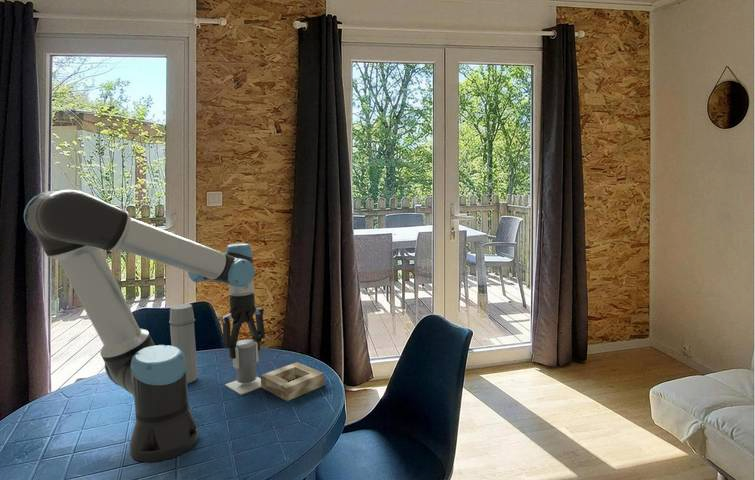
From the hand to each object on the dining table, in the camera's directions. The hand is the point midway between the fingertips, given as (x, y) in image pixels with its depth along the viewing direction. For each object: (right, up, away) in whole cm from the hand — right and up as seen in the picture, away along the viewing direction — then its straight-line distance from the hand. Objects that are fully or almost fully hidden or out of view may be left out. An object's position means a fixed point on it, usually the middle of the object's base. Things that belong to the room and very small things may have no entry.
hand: (245, 364), depth 141 cm
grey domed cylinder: (0, -5, +1) cm, 5 cm away
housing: (+15, -7, -1) cm, 17 cm away
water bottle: (-21, -7, +6) cm, 23 cm away
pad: (0, -7, +1) cm, 7 cm away
